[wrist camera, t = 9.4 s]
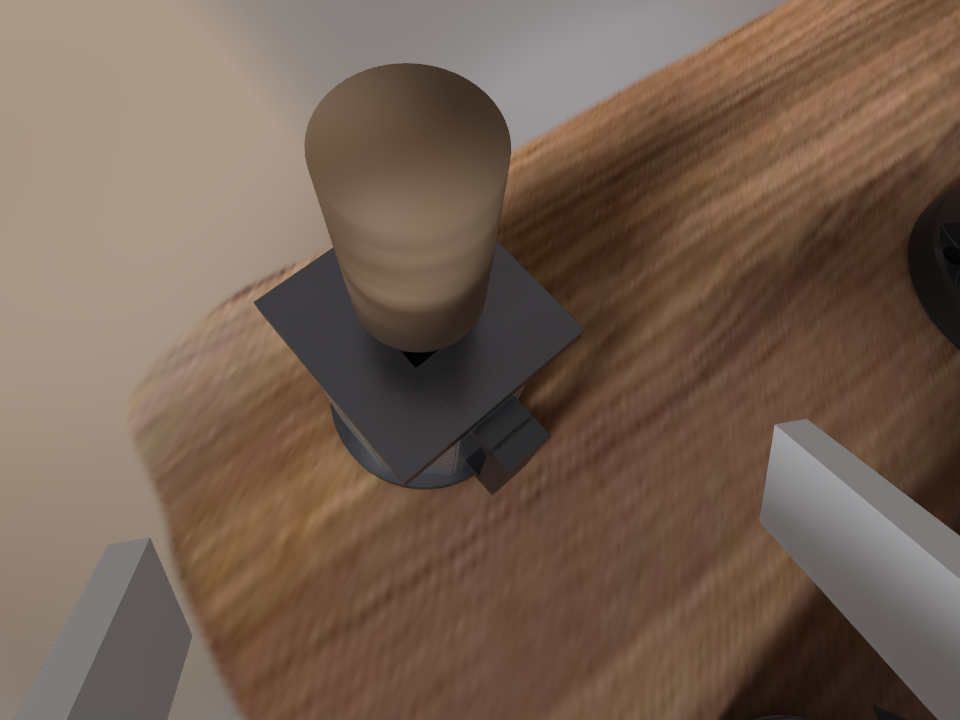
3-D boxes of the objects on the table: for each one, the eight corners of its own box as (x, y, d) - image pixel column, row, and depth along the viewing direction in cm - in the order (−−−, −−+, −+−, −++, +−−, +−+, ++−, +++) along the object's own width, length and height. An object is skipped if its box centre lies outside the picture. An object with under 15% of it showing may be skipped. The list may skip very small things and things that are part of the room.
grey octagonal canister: (572, 424, 36) (634, 357, 24) (431, 552, 33) (427, 542, 21) (437, 280, 38) (437, 159, 27) (295, 386, 35) (228, 300, 24)
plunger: (494, 366, 30) (552, 156, 15) (417, 430, 28) (393, 271, 13) (430, 296, 31) (422, 33, 16) (352, 354, 29) (262, 129, 14)
